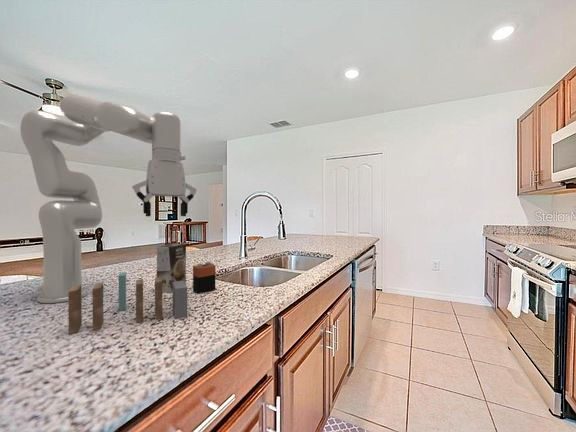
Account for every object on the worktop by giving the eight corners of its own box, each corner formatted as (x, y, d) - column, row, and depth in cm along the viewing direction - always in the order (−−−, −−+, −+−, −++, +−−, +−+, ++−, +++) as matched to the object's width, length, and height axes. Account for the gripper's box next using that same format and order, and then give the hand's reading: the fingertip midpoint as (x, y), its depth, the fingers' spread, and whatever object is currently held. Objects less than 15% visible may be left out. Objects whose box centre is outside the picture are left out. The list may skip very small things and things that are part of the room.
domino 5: (155, 320, 71) (155, 282, 71) (155, 313, 75) (154, 277, 75) (162, 319, 72) (162, 281, 71) (161, 312, 76) (161, 277, 76)
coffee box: (172, 292, 95) (172, 246, 94) (155, 291, 96) (155, 245, 96) (186, 285, 104) (186, 243, 103) (171, 284, 105) (171, 243, 105)
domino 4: (136, 323, 69) (135, 284, 69) (136, 316, 73) (136, 279, 73) (143, 322, 69) (143, 283, 69) (143, 315, 74) (143, 279, 74)
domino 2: (92, 330, 64) (92, 288, 64) (95, 323, 69) (95, 283, 69) (100, 329, 65) (100, 287, 65) (103, 321, 70) (103, 283, 69)
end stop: (175, 318, 72) (175, 288, 72) (172, 309, 79) (172, 281, 79) (187, 316, 73) (187, 287, 73) (183, 307, 80) (183, 280, 80)
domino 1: (68, 334, 62) (68, 291, 62) (73, 326, 67) (73, 286, 67) (77, 333, 63) (77, 290, 63) (81, 325, 67) (81, 285, 67)
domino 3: (118, 310, 77) (118, 276, 77) (120, 305, 82) (119, 272, 81) (125, 310, 78) (125, 275, 78) (126, 304, 82) (126, 271, 82)
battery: (216, 290, 98) (216, 262, 98) (198, 294, 93) (198, 265, 93) (209, 287, 101) (209, 260, 101) (192, 291, 96) (192, 263, 96)
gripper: (192, 162, 87) (191, 215, 87) (130, 155, 76) (130, 216, 77) (200, 159, 81) (200, 216, 82) (134, 150, 71) (134, 216, 71)
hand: (166, 216), depth 79 cm, fingers open, 9 cm apart
